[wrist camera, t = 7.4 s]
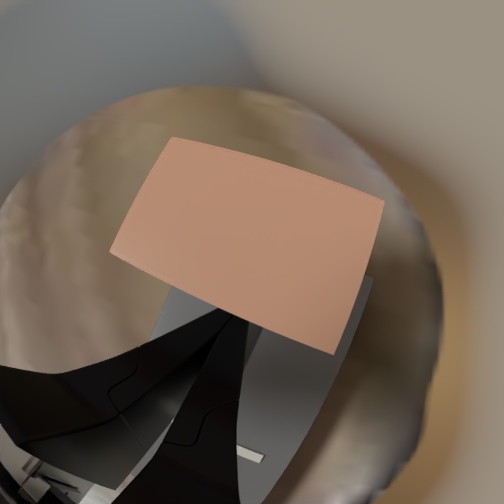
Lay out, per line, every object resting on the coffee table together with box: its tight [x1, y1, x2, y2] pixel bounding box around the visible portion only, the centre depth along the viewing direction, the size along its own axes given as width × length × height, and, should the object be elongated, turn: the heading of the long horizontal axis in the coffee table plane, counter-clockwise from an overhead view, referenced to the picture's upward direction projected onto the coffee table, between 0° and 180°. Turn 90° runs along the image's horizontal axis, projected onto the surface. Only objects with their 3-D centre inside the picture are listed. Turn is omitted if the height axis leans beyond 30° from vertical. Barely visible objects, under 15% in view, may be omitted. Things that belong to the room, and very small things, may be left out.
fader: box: [110, 137, 385, 355], centre depth 10 cm, size 3×5×9 cm, turn 66°
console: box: [130, 274, 375, 504], centre depth 14 cm, size 18×10×2 cm, turn 156°
